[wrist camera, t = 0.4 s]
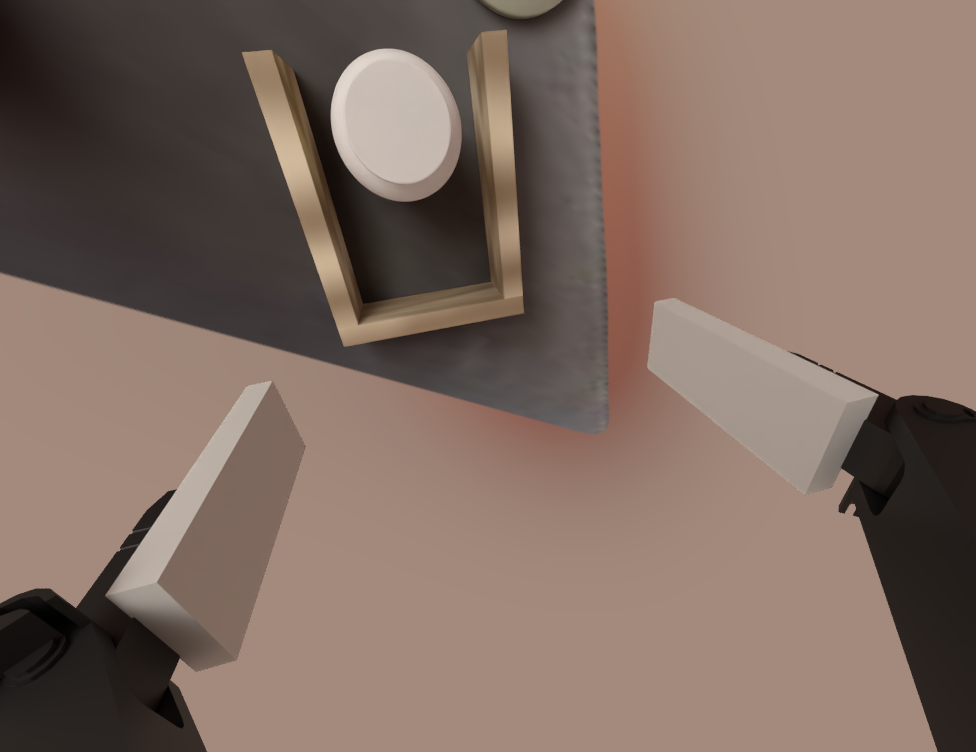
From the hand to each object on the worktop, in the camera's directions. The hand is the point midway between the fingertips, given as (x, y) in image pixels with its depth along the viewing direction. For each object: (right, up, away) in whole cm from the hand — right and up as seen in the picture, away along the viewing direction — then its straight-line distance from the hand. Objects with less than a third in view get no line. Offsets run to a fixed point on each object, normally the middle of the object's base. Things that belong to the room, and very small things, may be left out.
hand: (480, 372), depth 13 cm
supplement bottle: (-6, +17, +14) cm, 23 cm away
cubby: (-6, +14, +16) cm, 22 cm away
